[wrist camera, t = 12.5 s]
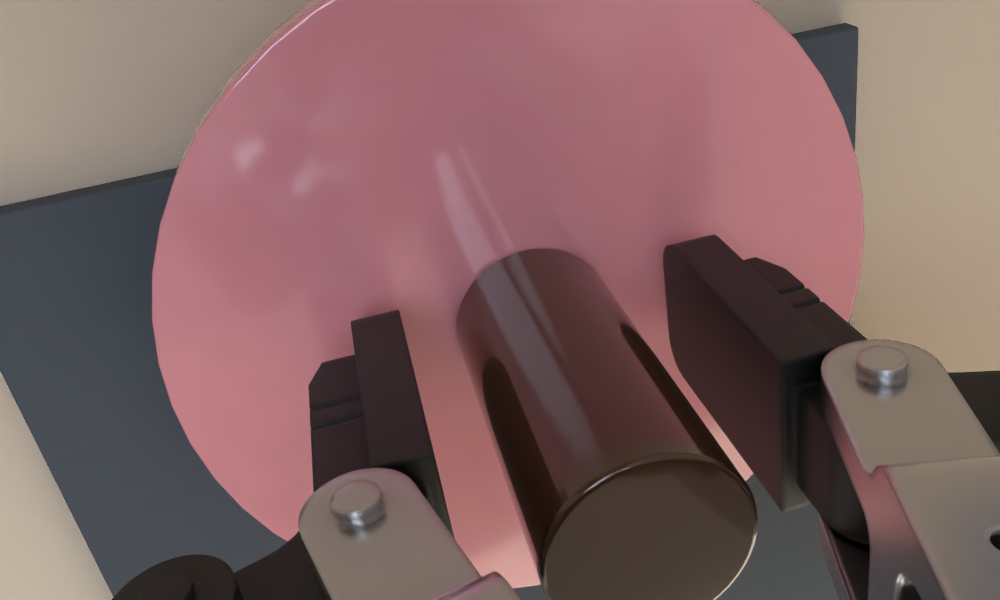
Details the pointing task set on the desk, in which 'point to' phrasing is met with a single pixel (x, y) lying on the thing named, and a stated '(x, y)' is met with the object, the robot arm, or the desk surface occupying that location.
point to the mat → (146, 406)
